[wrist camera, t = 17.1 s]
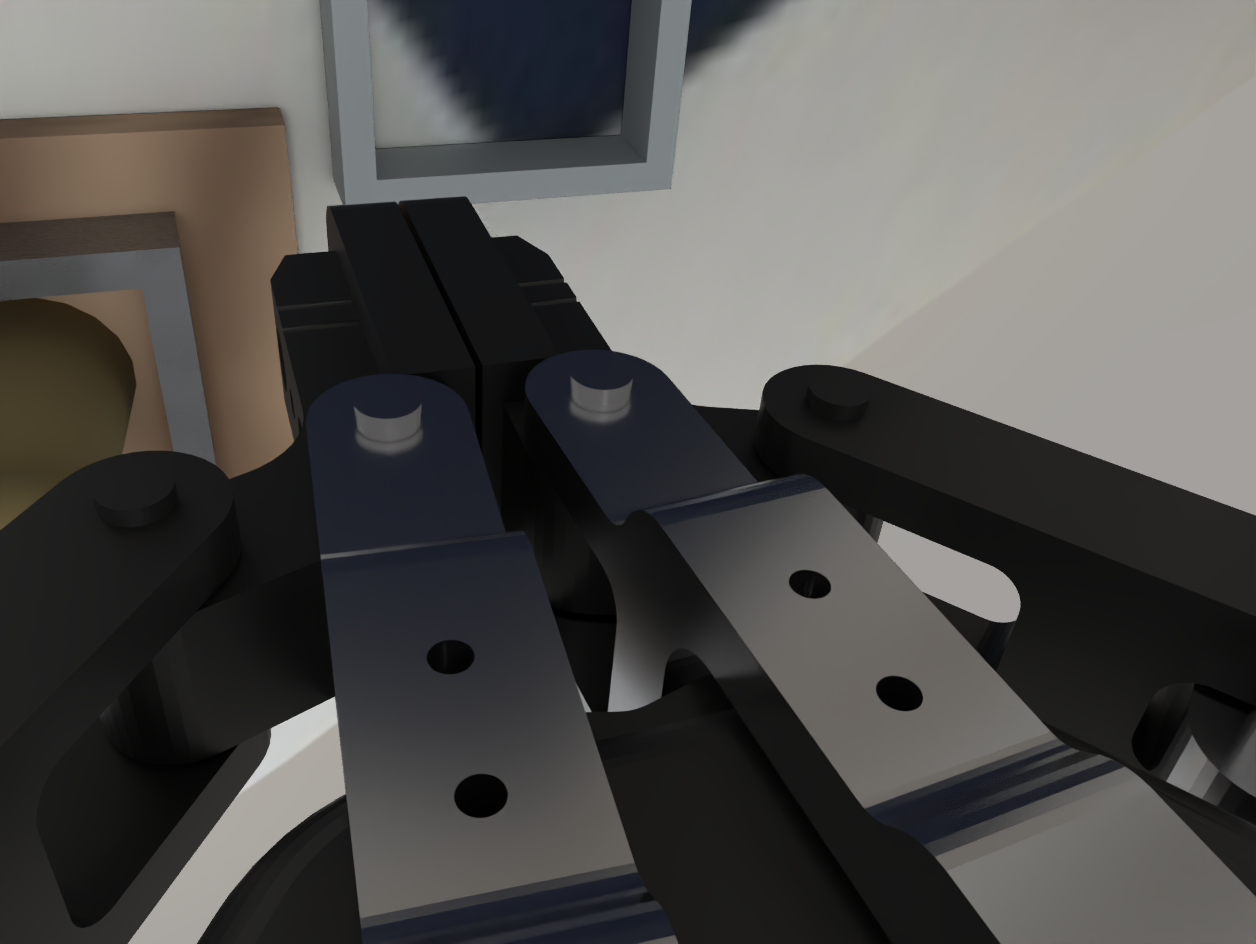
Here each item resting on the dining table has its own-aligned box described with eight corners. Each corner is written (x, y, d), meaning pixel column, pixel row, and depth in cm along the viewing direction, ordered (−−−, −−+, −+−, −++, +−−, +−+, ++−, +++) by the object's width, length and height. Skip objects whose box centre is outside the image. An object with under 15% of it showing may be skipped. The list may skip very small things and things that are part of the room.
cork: (133, 459, 39) (146, 691, 31) (-71, 457, 37) (-115, 710, 29) (139, 303, 36) (153, 517, 28) (-85, 289, 34) (-139, 521, 26)
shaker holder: (677, -189, 35) (710, -175, 33) (644, 160, 41) (671, 189, 39) (304, -205, 31) (317, -190, 29) (333, 180, 38) (346, 212, 36)
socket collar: (174, 211, 35) (178, 246, 33) (221, 494, 41) (227, 537, 40) (-253, 240, 31) (-274, 283, 30) (-127, 545, 38) (-138, 595, 36)
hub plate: (278, 107, 36) (285, 125, 35) (320, 507, 45) (325, 531, 44) (-436, 138, 30) (-456, 160, 29) (-215, 590, 39) (-223, 619, 38)
